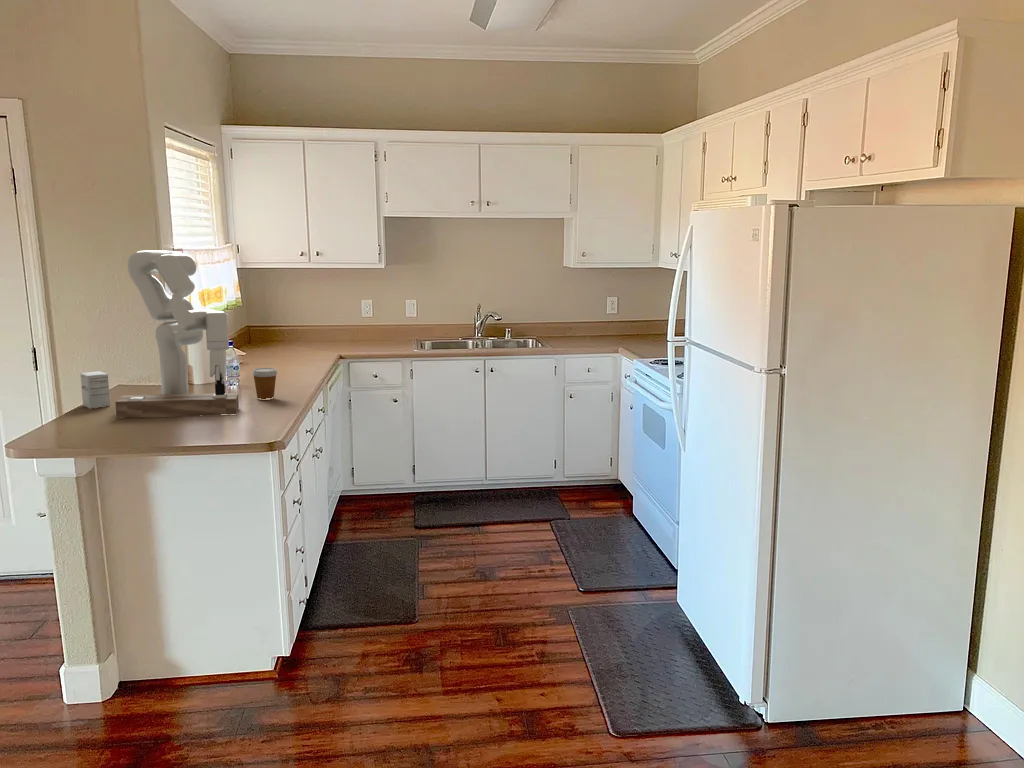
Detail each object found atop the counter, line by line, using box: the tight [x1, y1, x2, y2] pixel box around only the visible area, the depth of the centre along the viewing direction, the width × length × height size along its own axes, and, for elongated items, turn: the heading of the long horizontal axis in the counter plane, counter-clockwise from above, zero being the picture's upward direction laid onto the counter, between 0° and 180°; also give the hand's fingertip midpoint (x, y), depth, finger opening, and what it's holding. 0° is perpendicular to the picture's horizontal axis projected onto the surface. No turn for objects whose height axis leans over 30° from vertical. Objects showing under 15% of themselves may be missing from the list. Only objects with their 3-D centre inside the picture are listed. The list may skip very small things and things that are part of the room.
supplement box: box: [80, 370, 111, 410], centre depth 284 cm, size 7×7×13 cm
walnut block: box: [115, 392, 240, 419], centre depth 278 cm, size 11×40×6 cm, turn 105°
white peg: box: [213, 392, 227, 398], centre depth 281 cm, size 4×4×6 cm
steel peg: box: [129, 397, 145, 400], centre depth 274 cm, size 4×4×6 cm
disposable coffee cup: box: [252, 367, 278, 399], centre depth 305 cm, size 10×10×12 cm
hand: (220, 394), depth 280 cm, fingers closed
